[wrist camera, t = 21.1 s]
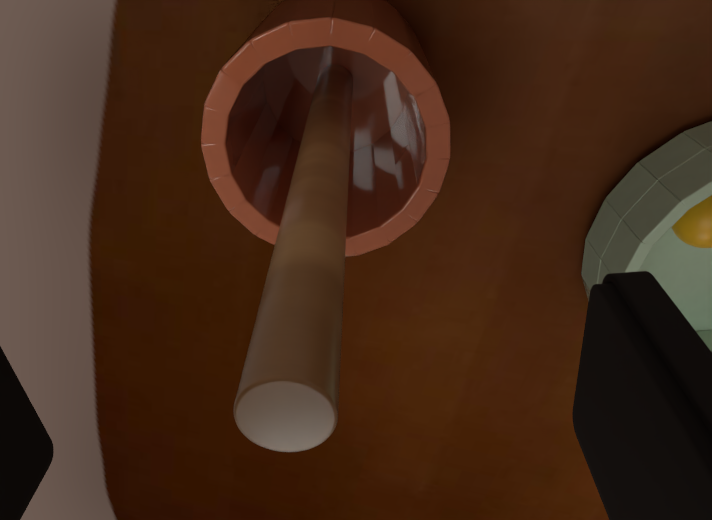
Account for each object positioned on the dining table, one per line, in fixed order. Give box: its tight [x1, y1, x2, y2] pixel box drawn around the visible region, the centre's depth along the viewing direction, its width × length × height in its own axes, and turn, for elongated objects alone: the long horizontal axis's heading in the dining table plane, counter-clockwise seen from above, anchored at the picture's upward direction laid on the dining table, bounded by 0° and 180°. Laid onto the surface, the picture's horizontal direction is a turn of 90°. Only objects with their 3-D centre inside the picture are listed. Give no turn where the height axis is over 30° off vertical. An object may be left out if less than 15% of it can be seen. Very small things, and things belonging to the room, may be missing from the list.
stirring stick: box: [234, 65, 353, 452], centre depth 17 cm, size 2×2×20 cm
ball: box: [672, 195, 712, 248], centre depth 28 cm, size 3×3×3 cm
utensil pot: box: [201, 0, 451, 256], centre depth 23 cm, size 8×8×9 cm
